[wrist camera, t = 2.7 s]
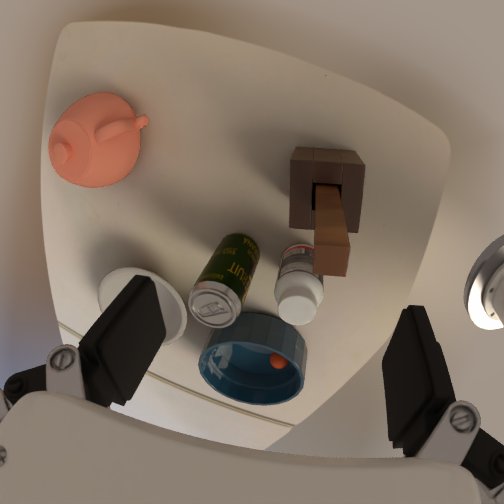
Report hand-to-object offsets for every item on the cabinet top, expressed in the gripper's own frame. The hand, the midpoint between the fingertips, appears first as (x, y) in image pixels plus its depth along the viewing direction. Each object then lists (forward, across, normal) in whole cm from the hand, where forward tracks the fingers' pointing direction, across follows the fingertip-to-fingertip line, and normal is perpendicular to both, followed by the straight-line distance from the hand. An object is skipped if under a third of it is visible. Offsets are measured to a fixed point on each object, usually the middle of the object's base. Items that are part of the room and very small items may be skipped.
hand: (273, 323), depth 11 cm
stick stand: (+25, -2, +1) cm, 25 cm away
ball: (+23, +1, +29) cm, 37 cm away
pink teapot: (+25, +24, -4) cm, 35 cm away
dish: (+25, +22, +21) cm, 39 cm away
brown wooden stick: (+25, -2, +1) cm, 25 cm away
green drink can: (+25, +7, +11) cm, 28 cm away
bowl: (+25, +5, +29) cm, 39 cm away
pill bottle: (+25, -1, +12) cm, 28 cm away
